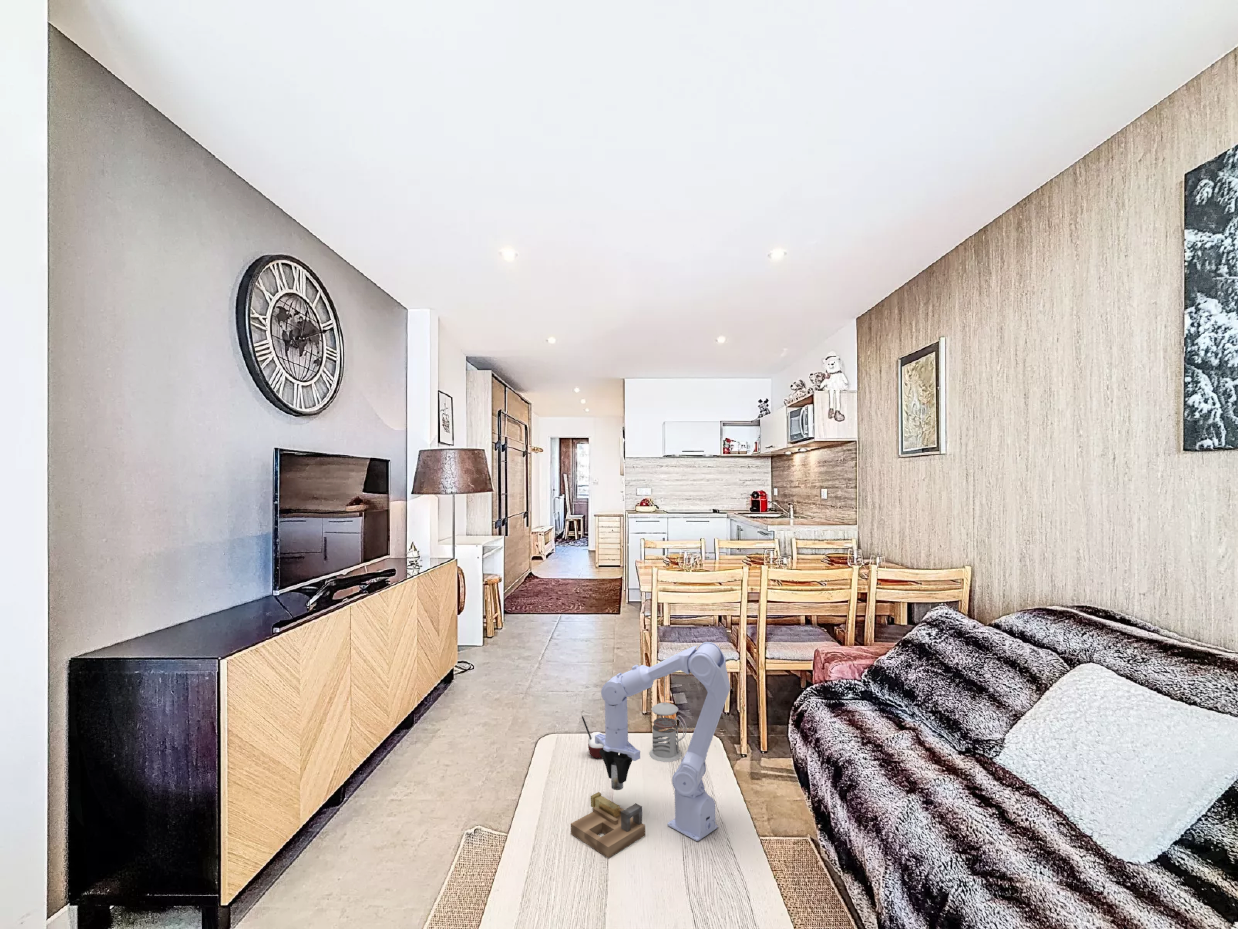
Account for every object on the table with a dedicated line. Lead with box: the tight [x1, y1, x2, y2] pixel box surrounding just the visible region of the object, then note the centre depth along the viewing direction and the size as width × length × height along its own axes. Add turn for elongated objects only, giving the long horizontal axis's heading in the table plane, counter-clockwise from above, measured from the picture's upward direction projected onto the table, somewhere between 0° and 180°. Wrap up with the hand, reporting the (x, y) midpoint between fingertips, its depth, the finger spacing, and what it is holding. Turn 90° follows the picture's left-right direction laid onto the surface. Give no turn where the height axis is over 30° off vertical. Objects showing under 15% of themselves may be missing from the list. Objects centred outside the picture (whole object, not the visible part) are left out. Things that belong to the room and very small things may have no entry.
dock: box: [570, 803, 646, 859], centre depth 148 cm, size 13×12×6 cm
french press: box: [648, 675, 687, 763], centre depth 188 cm, size 10×12×25 cm
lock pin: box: [590, 791, 621, 818], centre depth 154 cm, size 8×3×3 cm, turn 44°
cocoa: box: [581, 716, 605, 759], centre depth 189 cm, size 10×6×12 cm, turn 82°
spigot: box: [610, 761, 624, 791], centre depth 158 cm, size 3×3×6 cm
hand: (617, 779), depth 158 cm, fingers closed on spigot, 3 cm apart
